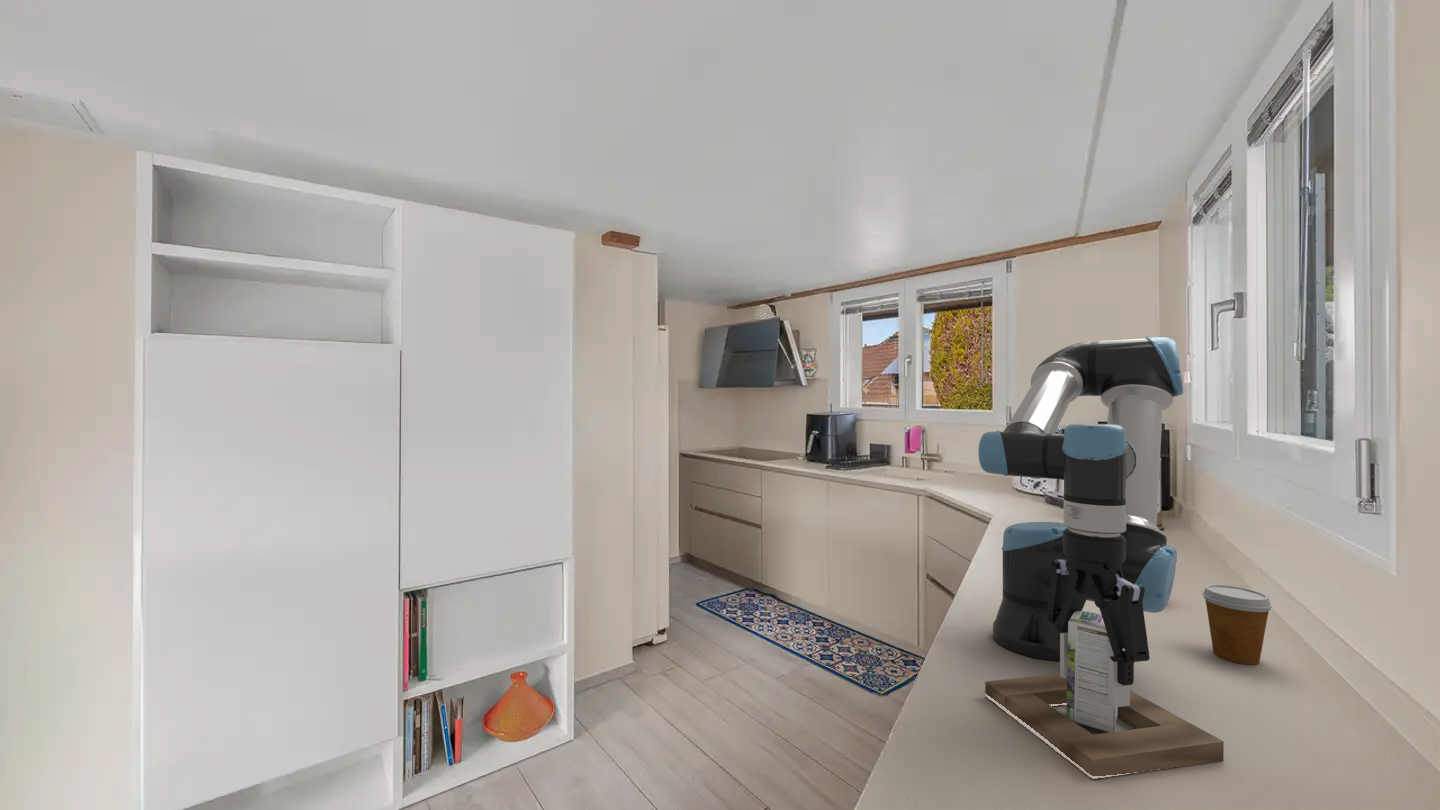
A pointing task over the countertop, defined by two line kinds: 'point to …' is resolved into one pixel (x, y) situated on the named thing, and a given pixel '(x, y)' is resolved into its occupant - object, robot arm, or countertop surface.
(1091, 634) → the syrup box
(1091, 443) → the robot arm
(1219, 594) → the disposable coffee cup
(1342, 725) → the countertop surface
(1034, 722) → the wooden square frame
